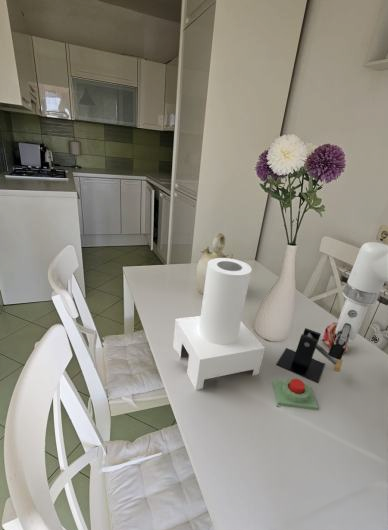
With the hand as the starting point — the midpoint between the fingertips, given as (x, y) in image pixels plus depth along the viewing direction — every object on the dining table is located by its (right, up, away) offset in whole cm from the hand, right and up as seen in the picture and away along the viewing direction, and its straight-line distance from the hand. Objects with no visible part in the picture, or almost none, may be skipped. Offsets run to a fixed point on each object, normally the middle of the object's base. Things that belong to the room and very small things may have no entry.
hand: (337, 348), depth 83 cm
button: (-13, -9, -5) cm, 17 cm away
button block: (-13, -12, -4) cm, 18 cm away
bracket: (-8, -7, +8) cm, 13 cm away
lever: (-4, -2, +3) cm, 5 cm away
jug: (-31, +16, +47) cm, 59 cm away
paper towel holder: (-33, -5, +6) cm, 34 cm away
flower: (+7, -3, +18) cm, 20 cm away
